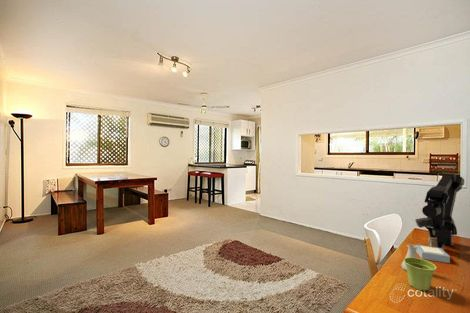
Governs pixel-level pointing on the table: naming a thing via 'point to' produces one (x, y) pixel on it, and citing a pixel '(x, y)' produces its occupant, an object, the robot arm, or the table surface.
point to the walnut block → (433, 243)
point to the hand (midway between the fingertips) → (435, 244)
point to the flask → (410, 254)
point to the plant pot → (419, 273)
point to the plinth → (432, 254)
